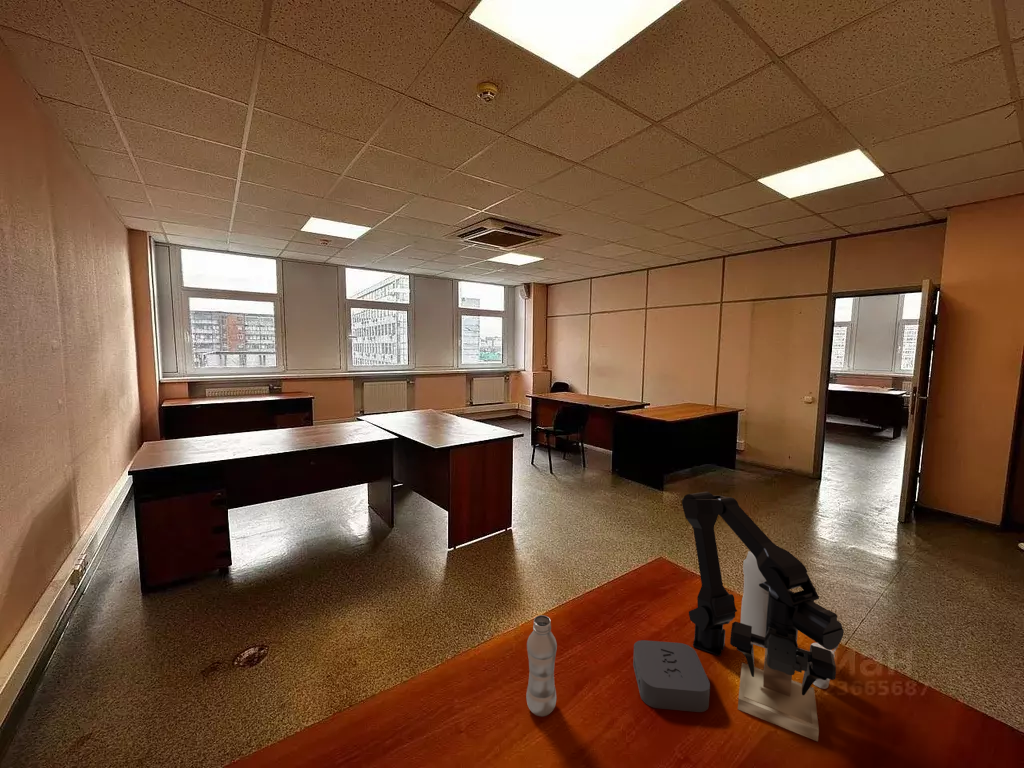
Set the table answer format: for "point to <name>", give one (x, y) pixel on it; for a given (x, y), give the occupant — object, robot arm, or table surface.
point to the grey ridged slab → (754, 597)
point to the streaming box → (670, 676)
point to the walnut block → (776, 679)
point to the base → (778, 704)
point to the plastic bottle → (541, 667)
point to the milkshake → (820, 682)
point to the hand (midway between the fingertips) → (777, 684)
